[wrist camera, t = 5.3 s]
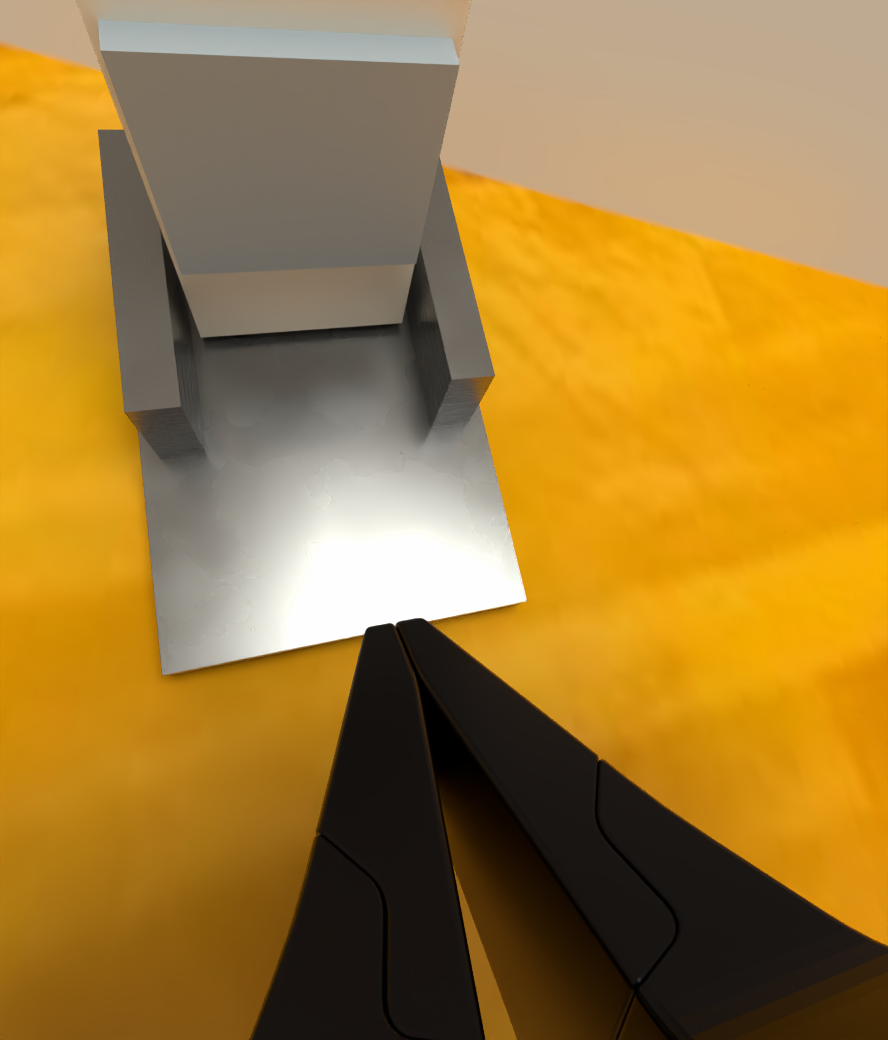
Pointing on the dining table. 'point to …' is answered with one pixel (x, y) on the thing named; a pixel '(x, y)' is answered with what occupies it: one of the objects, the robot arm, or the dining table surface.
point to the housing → (306, 454)
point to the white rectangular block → (285, 147)
